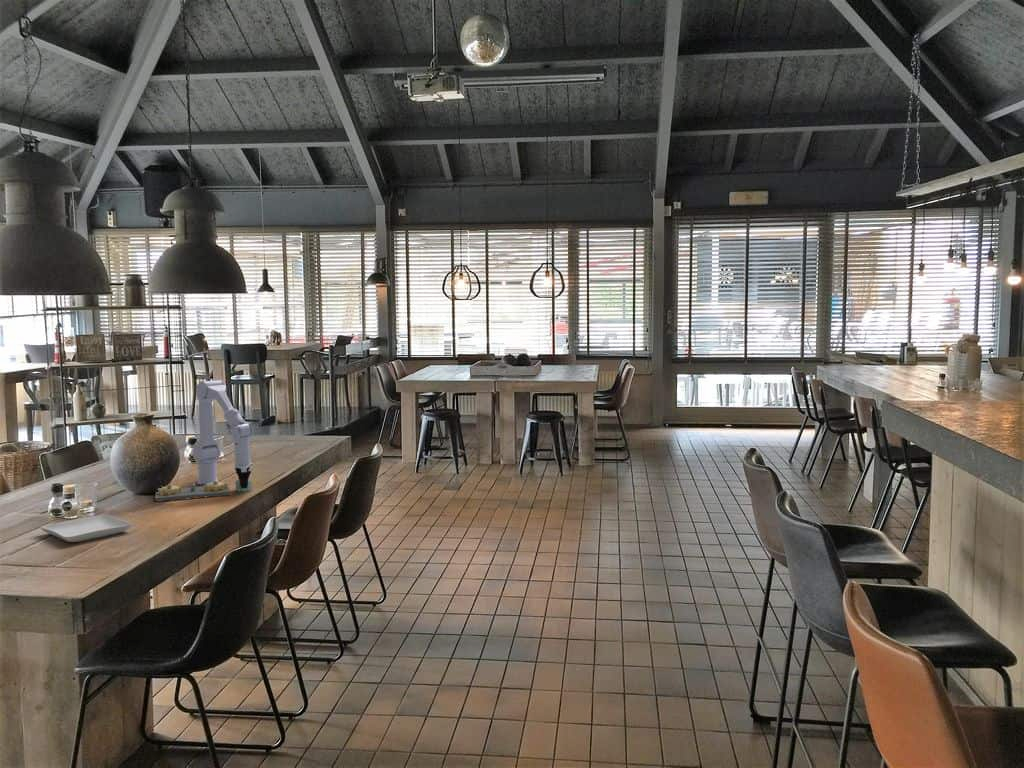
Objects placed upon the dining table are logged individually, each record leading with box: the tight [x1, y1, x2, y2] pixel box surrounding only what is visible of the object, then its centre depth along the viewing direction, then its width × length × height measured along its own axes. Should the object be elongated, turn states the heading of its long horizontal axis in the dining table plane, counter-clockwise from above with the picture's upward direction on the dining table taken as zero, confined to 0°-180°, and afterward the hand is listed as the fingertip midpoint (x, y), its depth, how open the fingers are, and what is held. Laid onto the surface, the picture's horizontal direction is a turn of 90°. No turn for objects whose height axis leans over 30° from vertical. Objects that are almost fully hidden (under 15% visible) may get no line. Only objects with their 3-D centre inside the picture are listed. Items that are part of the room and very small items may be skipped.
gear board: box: [154, 480, 231, 501], centre depth 317 cm, size 14×27×5 cm, turn 112°
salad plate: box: [40, 513, 133, 543], centre depth 264 cm, size 21×21×3 cm
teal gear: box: [235, 478, 252, 493], centre depth 324 cm, size 6×6×4 cm
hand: (243, 486), depth 324 cm, fingers closed on teal gear, 6 cm apart
